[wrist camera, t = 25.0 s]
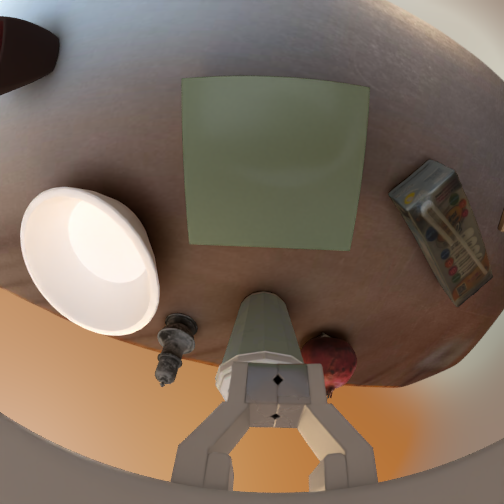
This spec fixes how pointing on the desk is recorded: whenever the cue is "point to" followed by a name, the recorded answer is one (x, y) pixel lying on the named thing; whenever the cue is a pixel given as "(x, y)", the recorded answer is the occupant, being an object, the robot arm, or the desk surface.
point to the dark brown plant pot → (24, 53)
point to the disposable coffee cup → (259, 337)
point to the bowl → (91, 260)
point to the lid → (273, 160)
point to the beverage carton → (444, 229)
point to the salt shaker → (174, 346)
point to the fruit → (331, 360)
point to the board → (501, 223)
